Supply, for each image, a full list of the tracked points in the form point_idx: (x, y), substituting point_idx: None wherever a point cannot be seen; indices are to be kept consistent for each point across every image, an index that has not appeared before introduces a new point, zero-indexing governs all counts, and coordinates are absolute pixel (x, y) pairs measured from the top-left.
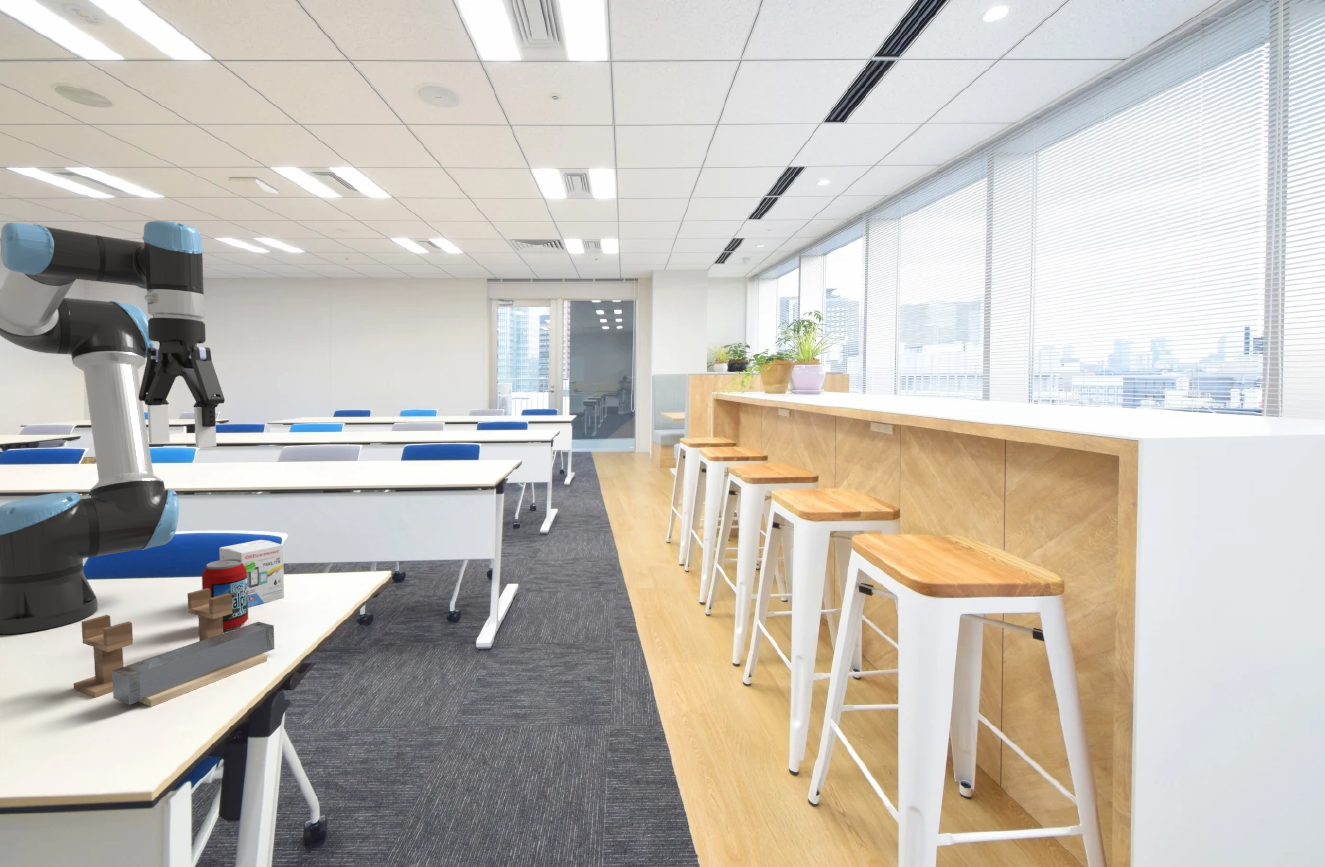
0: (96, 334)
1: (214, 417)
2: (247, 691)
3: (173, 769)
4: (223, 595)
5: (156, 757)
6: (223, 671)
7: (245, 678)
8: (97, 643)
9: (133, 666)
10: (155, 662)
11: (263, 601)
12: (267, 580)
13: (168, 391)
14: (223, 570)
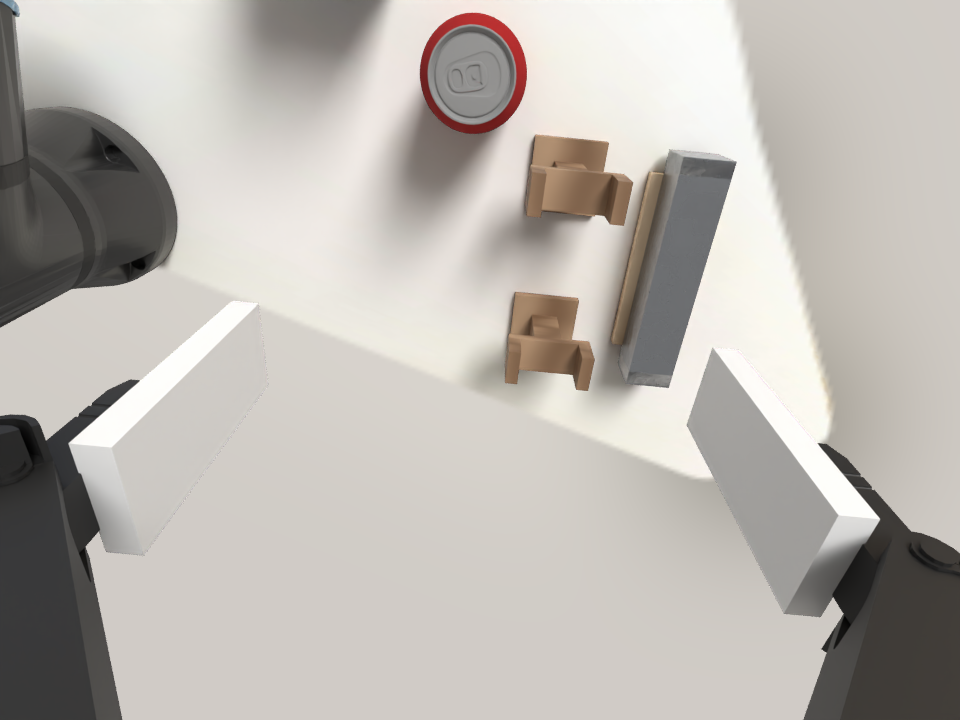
0: None
1: (870, 493)
2: (774, 271)
3: (828, 417)
4: (622, 196)
5: None
6: None
7: (735, 241)
8: (552, 372)
9: (642, 366)
10: (662, 348)
11: None
12: None
13: (71, 581)
14: (508, 108)
